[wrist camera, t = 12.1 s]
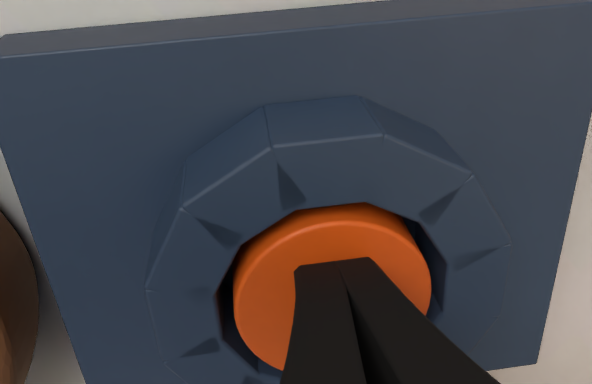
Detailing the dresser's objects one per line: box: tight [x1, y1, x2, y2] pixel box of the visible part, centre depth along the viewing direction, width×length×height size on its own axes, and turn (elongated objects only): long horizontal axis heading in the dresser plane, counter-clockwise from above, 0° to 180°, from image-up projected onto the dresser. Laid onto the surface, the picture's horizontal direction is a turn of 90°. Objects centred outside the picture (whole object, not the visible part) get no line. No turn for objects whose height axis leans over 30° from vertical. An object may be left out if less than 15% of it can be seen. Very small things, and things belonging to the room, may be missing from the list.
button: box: [232, 202, 431, 371], centre depth 11 cm, size 4×4×2 cm
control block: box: [0, 0, 592, 384], centre depth 11 cm, size 11×9×4 cm
